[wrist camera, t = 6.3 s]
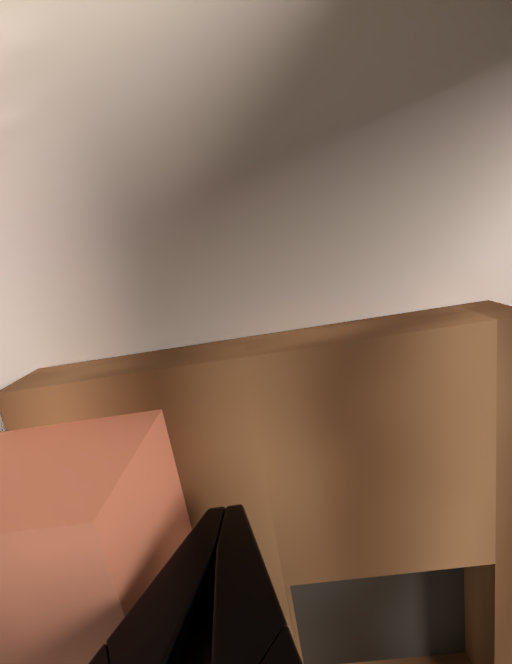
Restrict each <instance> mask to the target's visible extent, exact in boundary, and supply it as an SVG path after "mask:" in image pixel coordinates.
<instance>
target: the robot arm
mask: <svg viewBox="0 0 512 664" xmlns="http://www.w3.org/2000/svg"><path fill="white" fill-rule="evenodd" d="M106 643H107V645H106V644H103V645H102V646H101V648H100V649H99V650H98V652H97V653H96V654H95V656H94V657H93V658H92V659H91V661H90V662H89V663H88V664H303V663H302V660H301V658H300V656H299V653H298V651H297V648H296V646H295V643H294V640H293V638H292V635H291V632H290V629H289V627H288V626H287V622H286V619H285V617H284V614H283V611H282V609H281V606H280V603H279V600H278V598H277V595H276V592H275V590H274V587H273V584H272V582H271V579H270V576H269V574H268V571H267V568H266V566H265V563H264V560H263V557H262V555H261V552H260V549H259V547H258V544H257V541H256V539H255V536H254V533H253V531H252V528H251V525H250V522H249V520H248V517H247V514H246V512H245V509H244V507H243V505H241V504H238V505H230V506H227V507H226V508H225V507H223V506H222V507H214V508H209V509H208V510H207V511H206V512H205V513H204V515H203V516H202V517H201V519H200V520H199V521H198V523H197V524H196V525H195V526H194V528H193V529H192V530H191V532H190V533H189V534H188V535H187V537H186V538H185V539H184V541H183V542H182V543H181V545H180V546H179V547H178V548H177V550H176V551H175V552H174V554H173V555H172V556H171V557H170V559H169V560H168V561H167V563H166V564H165V565H164V567H163V568H162V569H161V570H160V572H159V573H158V574H157V576H156V577H155V578H154V579H153V581H152V582H151V583H150V585H149V586H148V587H147V589H146V590H145V591H144V592H143V594H142V595H141V596H140V598H139V599H138V600H137V601H136V603H135V604H134V605H133V607H132V608H131V609H130V610H129V612H128V613H127V614H126V616H125V617H124V618H123V620H122V621H121V622H120V623H119V625H118V626H117V627H116V629H115V630H114V631H113V632H112V634H111V635H110V636H109V638H108V639H107V641H106Z"/></svg>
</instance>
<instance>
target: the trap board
mask: <svg viewBox="0 0 512 664" xmlns="http://www.w3.org/2000/svg"><path fill="white" fill-rule="evenodd" d="M161 409H162V412H163V416H164V420H165V424H166V428H167V432H168V436H169V440H170V444H171V448H172V452H173V456H174V460H175V464H176V468H177V472H178V476H179V480H180V484H181V488H182V491H183V495H184V499H185V503H186V507H187V511H188V515H189V519H190V523H191V527H192V529H193V528H194V526H195V525H196V524H197V523H198V521H199V520H200V519H201V517H202V516H203V515H204V513H205V512H206V511H207V510H208V509H209V508H214V507H222V506H223V507H225V508H226V507H227V506H230V505H238V504H241V505H243V507H244V509H245V512H246V514H247V517H248V520H249V522H250V525H251V528H252V531H253V533H254V536H255V539H256V541H257V544H258V547H259V549H260V552H261V555H262V557H263V560H264V563H265V566H266V568H267V571H268V574H269V576H270V579H271V582H272V584H273V587H274V590H275V592H276V595H277V598H278V600H279V603H280V606H281V609H282V611H283V614H284V617H285V619H286V622H287V626H288V627H289V629H290V632H291V635H292V638H293V640H294V643H295V646H296V648H297V651H298V653H299V656H300V658H301V660H302V663H303V664H512V306H508V305H504V304H501V303H497V302H493V301H489V300H488V301H481V302H475V303H468V304H461V305H455V306H448V307H442V308H435V309H428V310H422V311H415V312H409V313H402V314H396V315H389V316H382V317H376V318H369V319H363V320H356V321H349V322H343V323H336V324H330V325H323V326H317V327H310V328H303V329H297V330H290V331H284V332H277V333H270V334H264V335H257V336H251V337H244V338H238V339H231V340H224V341H218V342H211V343H205V344H198V345H191V346H185V347H178V348H172V349H165V350H159V351H152V352H145V353H139V354H132V355H126V356H119V357H112V358H106V359H99V360H93V361H86V362H80V363H73V364H66V365H60V366H53V367H47V368H40V369H37V370H35V371H34V372H32V373H30V374H28V375H26V376H25V377H23V378H21V379H19V380H18V381H16V382H14V383H12V384H11V385H9V386H7V387H5V388H3V389H2V390H0V414H1V417H2V419H3V422H4V425H5V427H6V430H7V431H11V430H18V429H25V428H33V427H40V426H47V425H54V424H61V423H68V422H75V421H82V420H89V419H97V418H104V417H111V416H118V415H125V414H132V413H139V412H146V411H153V410H161Z"/></svg>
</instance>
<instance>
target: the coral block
mask: <svg viewBox="0 0 512 664" xmlns="http://www.w3.org/2000/svg"><path fill="white" fill-rule="evenodd" d="M191 530H192V527H191V523H190V519H189V515H188V511H187V507H186V503H185V499H184V495H183V491H182V488H181V484H180V480H179V476H178V472H177V468H176V464H175V460H174V456H173V452H172V448H171V444H170V440H169V436H168V432H167V428H166V424H165V420H164V416H163V412H162V409H161V410H153V411H146V412H139V413H132V414H125V415H118V416H111V417H104V418H97V419H89V420H82V421H75V422H68V423H61V424H54V425H47V426H40V427H33V428H25V429H18V430H11V431H4V432H0V664H88V663H89V662H90V661H91V659H92V658H93V657H94V656H95V654H96V653H97V652H98V650H99V649H100V648H101V646H102V645H103V644H106V645H107V643H106V641H107V639H108V638H109V636H110V635H111V634H112V632H113V631H114V630H115V629H116V627H117V626H118V625H119V623H120V622H121V621H122V620H123V618H124V617H125V616H126V614H127V613H128V612H129V610H130V609H131V608H132V607H133V605H134V604H135V603H136V601H137V600H138V599H139V598H140V596H141V595H142V594H143V592H144V591H145V590H146V589H147V587H148V586H149V585H150V583H151V582H152V581H153V579H154V578H155V577H156V576H157V574H158V573H159V572H160V570H161V569H162V568H163V567H164V565H165V564H166V563H167V561H168V560H169V559H170V557H171V556H172V555H173V554H174V552H175V551H176V550H177V548H178V547H179V546H180V545H181V543H182V542H183V541H184V539H185V538H186V537H187V535H188V534H189V533H190V532H191Z"/></svg>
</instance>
